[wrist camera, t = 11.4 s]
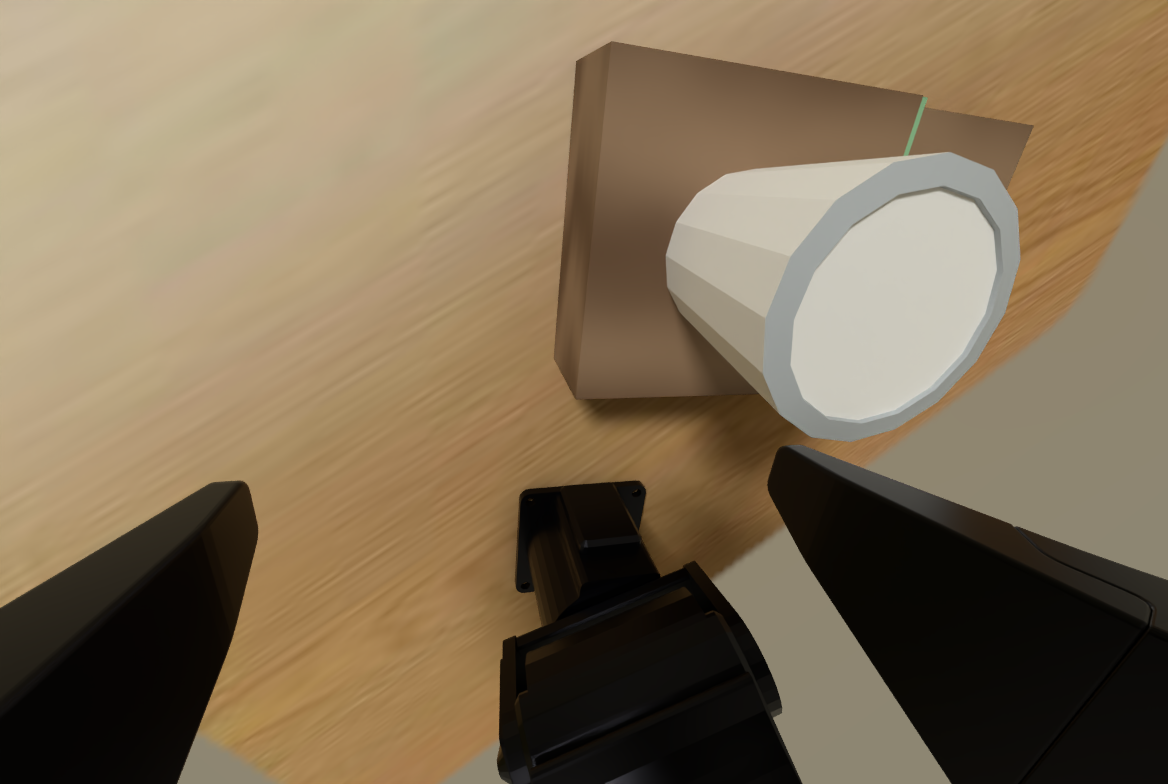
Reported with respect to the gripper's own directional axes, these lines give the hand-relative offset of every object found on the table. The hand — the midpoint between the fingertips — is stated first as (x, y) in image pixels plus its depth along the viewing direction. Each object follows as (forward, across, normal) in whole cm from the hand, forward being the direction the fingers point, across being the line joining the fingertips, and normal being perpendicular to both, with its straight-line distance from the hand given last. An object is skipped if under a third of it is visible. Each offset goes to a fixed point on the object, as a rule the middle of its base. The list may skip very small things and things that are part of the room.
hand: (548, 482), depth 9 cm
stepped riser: (+13, -12, -2) cm, 18 cm away
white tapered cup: (+9, -8, -2) cm, 13 cm away
